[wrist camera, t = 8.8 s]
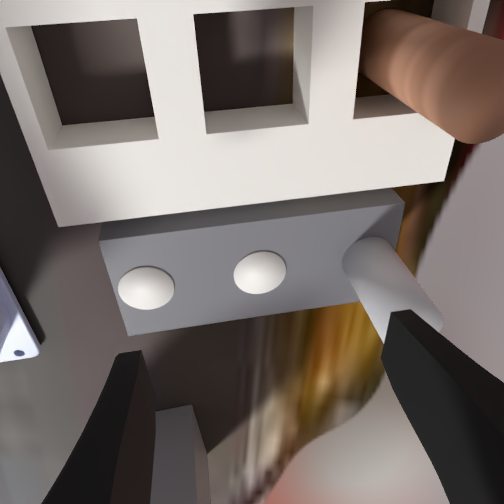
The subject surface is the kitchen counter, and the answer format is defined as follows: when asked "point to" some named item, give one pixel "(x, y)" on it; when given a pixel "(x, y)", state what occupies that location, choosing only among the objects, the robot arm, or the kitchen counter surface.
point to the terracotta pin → (437, 71)
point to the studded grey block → (263, 262)
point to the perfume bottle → (179, 459)
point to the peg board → (220, 116)
